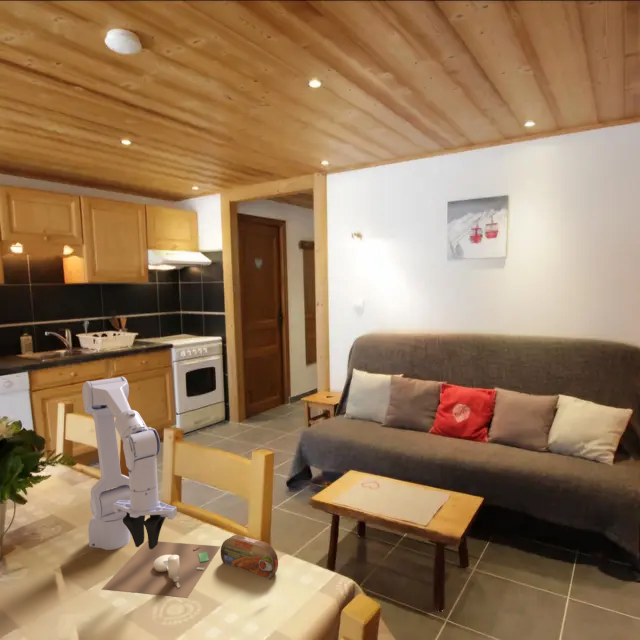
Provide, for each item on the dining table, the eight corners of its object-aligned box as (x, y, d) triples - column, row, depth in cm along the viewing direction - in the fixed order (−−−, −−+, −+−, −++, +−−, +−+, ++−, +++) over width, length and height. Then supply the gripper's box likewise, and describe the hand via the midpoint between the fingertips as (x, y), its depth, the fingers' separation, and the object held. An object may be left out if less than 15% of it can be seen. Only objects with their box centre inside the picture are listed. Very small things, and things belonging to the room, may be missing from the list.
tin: (220, 569, 109) (218, 535, 108) (228, 562, 112) (227, 528, 111) (273, 588, 102) (272, 551, 101) (280, 579, 105) (279, 544, 104)
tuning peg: (151, 563, 108) (150, 543, 108) (172, 556, 111) (171, 536, 111) (165, 587, 100) (164, 565, 99) (187, 578, 103) (186, 557, 102)
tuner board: (101, 595, 100) (101, 588, 100) (147, 546, 119) (147, 539, 119) (187, 604, 97) (187, 596, 97) (220, 552, 116) (220, 545, 115)
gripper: (102, 491, 97) (105, 551, 99) (162, 497, 94) (165, 560, 95) (124, 477, 104) (127, 534, 105) (180, 483, 101) (183, 541, 102)
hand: (146, 545), depth 101 cm, fingers open, 3 cm apart
